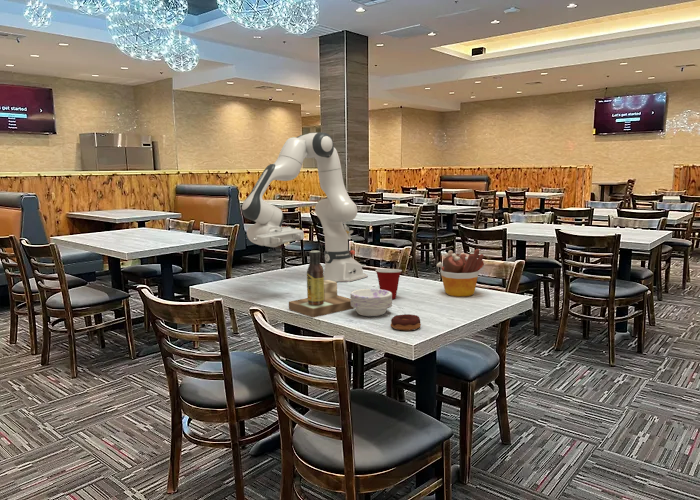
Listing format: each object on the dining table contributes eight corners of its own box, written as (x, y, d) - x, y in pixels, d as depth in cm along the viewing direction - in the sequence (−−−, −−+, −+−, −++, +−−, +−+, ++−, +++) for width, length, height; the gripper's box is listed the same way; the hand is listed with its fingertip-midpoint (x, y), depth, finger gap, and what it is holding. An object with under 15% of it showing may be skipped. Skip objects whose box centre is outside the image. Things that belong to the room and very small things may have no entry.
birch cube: (328, 294, 215) (327, 279, 214) (337, 297, 210) (336, 282, 209) (315, 297, 211) (315, 282, 210) (324, 299, 206) (324, 284, 205)
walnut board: (330, 300, 217) (330, 292, 217) (356, 307, 205) (355, 299, 204) (288, 309, 205) (288, 301, 204) (313, 317, 192) (312, 308, 192)
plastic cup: (404, 295, 223) (404, 267, 221) (398, 301, 213) (398, 272, 211) (379, 294, 226) (379, 266, 225) (372, 300, 216) (371, 271, 214)
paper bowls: (395, 308, 202) (394, 288, 201) (388, 319, 187) (388, 297, 186) (355, 307, 205) (355, 287, 204) (346, 318, 191) (345, 296, 190)
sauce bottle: (307, 302, 202) (305, 249, 199) (324, 301, 202) (322, 249, 200) (307, 306, 196) (305, 252, 193) (324, 305, 196) (323, 252, 193)
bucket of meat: (429, 292, 227) (429, 246, 224) (458, 287, 236) (458, 242, 233) (463, 301, 211) (464, 251, 208) (493, 295, 219) (493, 247, 217)
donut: (384, 328, 178) (384, 316, 177) (401, 322, 185) (401, 310, 184) (409, 334, 171) (409, 322, 170) (426, 327, 178) (426, 315, 178)
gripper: (249, 232, 215) (267, 234, 204) (292, 226, 228) (311, 228, 217) (250, 247, 216) (268, 250, 205) (293, 240, 229) (311, 243, 218)
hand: (290, 239), depth 211 cm, fingers open, 8 cm apart
